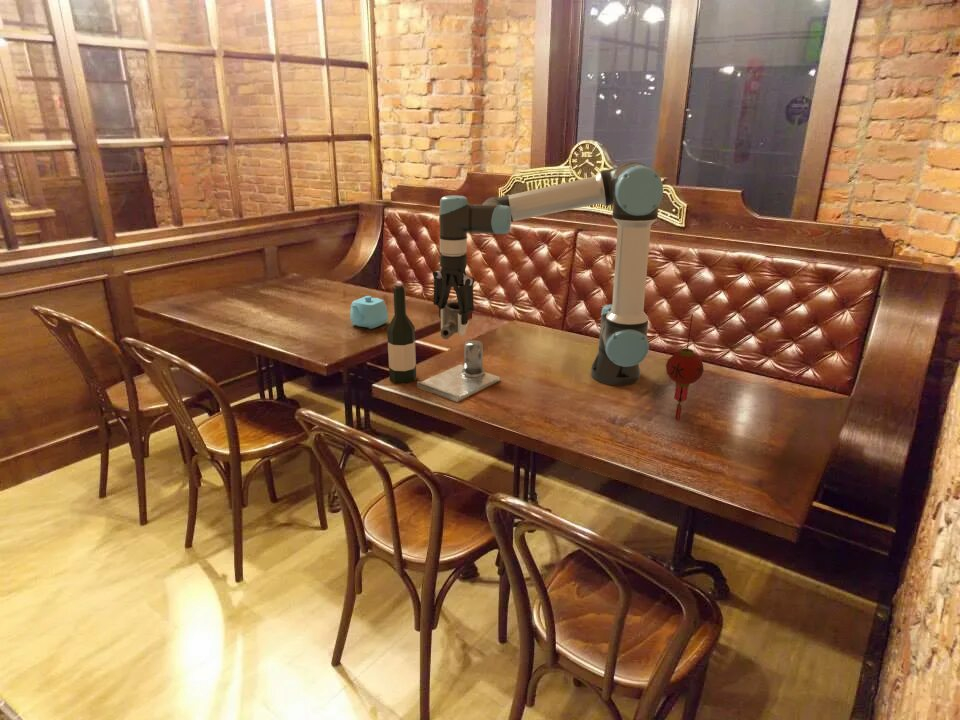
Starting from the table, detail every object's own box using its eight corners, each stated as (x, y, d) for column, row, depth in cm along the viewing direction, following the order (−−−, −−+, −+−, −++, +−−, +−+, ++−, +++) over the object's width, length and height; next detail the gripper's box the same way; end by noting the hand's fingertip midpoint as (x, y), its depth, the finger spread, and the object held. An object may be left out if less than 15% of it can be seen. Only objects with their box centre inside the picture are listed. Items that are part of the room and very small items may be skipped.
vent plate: (500, 379, 192) (501, 346, 187) (457, 402, 177) (456, 366, 172) (461, 367, 201) (461, 334, 197) (417, 387, 186) (415, 352, 182)
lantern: (652, 419, 168) (665, 313, 156) (670, 408, 174) (684, 306, 163) (684, 431, 161) (700, 322, 150) (702, 419, 167) (718, 314, 156)
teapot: (339, 330, 234) (337, 301, 230) (369, 317, 249) (367, 289, 245) (365, 335, 229) (364, 305, 225) (394, 322, 244) (392, 293, 239)
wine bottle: (391, 385, 187) (386, 289, 176) (387, 374, 195) (382, 282, 184) (418, 382, 189) (415, 287, 178) (414, 372, 197) (410, 280, 186)
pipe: (435, 339, 174) (436, 313, 171) (448, 324, 185) (449, 299, 182) (456, 343, 173) (458, 316, 170) (467, 328, 184) (469, 302, 181)
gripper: (488, 256, 169) (486, 335, 178) (437, 246, 180) (437, 322, 188) (471, 260, 164) (470, 342, 172) (419, 250, 174) (420, 328, 183)
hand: (453, 331), depth 180 cm, fingers closed on pipe, 6 cm apart
